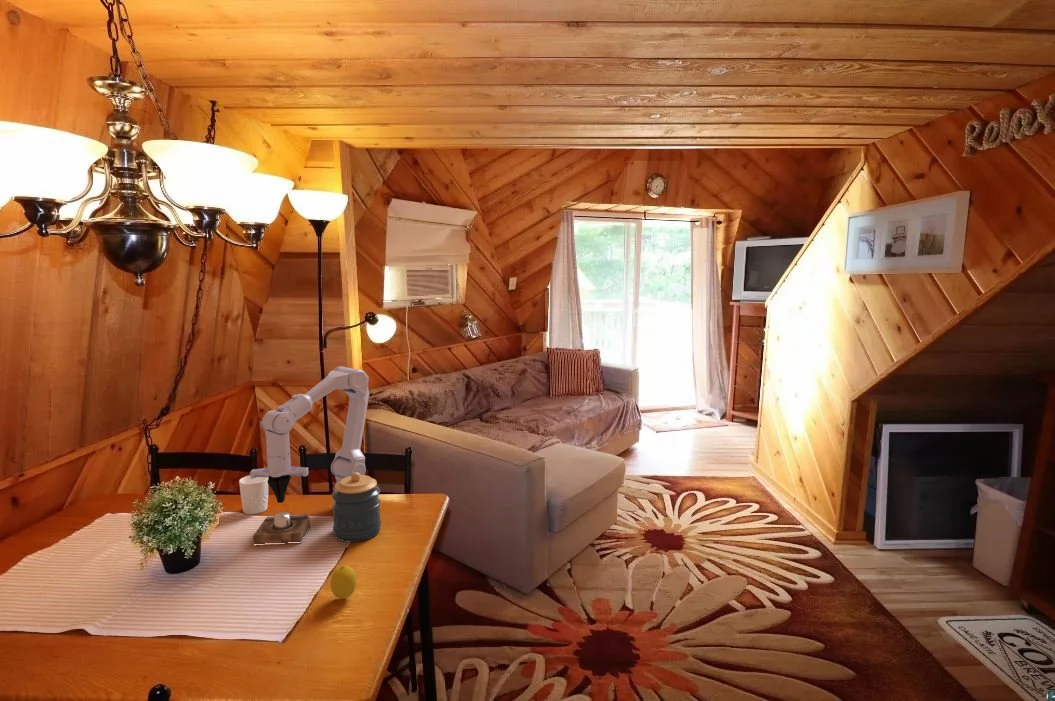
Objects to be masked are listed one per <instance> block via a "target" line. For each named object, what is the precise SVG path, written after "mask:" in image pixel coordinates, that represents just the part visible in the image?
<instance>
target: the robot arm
mask: <svg viewBox="0 0 1055 701" xmlns="http://www.w3.org/2000/svg"><path fill="white" fill-rule="evenodd" d="M369 380H370V377H369V375H368V374H367V373H366V372H365V371H364V370H363V369H359V368H357V369H356V368H353V367H352V368H351V367H346V366H341V365H339V366H336V367H335V368H334V369H333V370H331V371H329V372H328V374H327V376H326V377H324V378H323V379H322V380H321V381H319V383H317V384H316V385H314V386H313V387H312V388H311V389H309V390H308V391H307V392H306V393H305V394H303V393H298V394H295V393H294V394H293V395H292V396H291V398H290V399H288V400H287V401H286V402H284V403H283V404H280V405H278V406H277V408H276V409H273V410H268V411H267V412H266V413H265V414H264V415H263V417H262V420H261V421H260V427H261V428H262V429H263V430H264V432H265V441H266V442H265V443H266V460H267V467H264V468H263V467H262V468H255V469H254V468H253V469H251V471H250V472H249V475H250V478H251V479H253V478H255V477H268V481H267V482H268V486H269V487H270V488H271V490H272V492H273V494H274V496H275V498H276V499H275V500H276V501H277V503H278V504H283V503H284V502H285V500H286V493H287V489H288V486H289V483H290V481H291V480H292V477H299V476H300V477H307V476H308V475H309V467H308V466H307V467H305V466H304V467H303V466H293V465H291V463H292V462H291V446H290V444H291V443H290V431H291V430H293V427H294V424H295V423H296V422H297V421H298V420H299V419H301V418H302V417H304V416H305V415H306V414H308V413H309V412H311V411H312V409H313V404H315V403H316V402H317V401H319V400H321V399H322V398H324V397H325V396H327V395H328V394H331V393H332V392H333V391H334V390H342V391H344V392H345V393H346V395H347V396H348V398H349V403H348V408H347V414H346V421H345V426H344V432H343V439H342V445H341V447H340V449H339V450H338V451H336V452H335V456H334V459H333V461H332V462H331V464H330V472H331V474H332V475H334V477H335V478H334V479H335V480H336V483H335V484H337V483H338V482H339V481H341V480H342V479H343V478H345V477H348V476H351V475H352V474H353V473H354V472H358V473H360V475H366V470H367V469H366V463H365V462H366V457H365V455H364V454H363V452H362V451H361V447H362V441H363V435H364V429H365V424H366V422H365V421H366V417H367V416H366V415H367V410H368V406H369V405H368V404H369V397H370V390H369Z"/></svg>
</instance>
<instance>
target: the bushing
mask: <svg viewBox="0 0 1055 701" xmlns="http://www.w3.org/2000/svg"><path fill="white" fill-rule="evenodd" d="M290 516H291V514H290V512H288V511H281V512H278V513H276V514H274V523H275V530H284V529H288V528H290V527H291V525H290Z"/></svg>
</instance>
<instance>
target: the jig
mask: <svg viewBox="0 0 1055 701" xmlns="http://www.w3.org/2000/svg"><path fill="white" fill-rule="evenodd" d="M290 525H291V527H290V528H288V529H284V530H275V523H274V516H266V518H264V520H263V521H262V523H261V524H260V525H259V527H258V529H256V531H255V532H254V534H253V535H252V537H253V538H252V540H253V545H254V544H265V543H288V542H301V541H302V539H303V537H304V536H305V537H306V535H307V533H306V532H308V531H309V529H310V527H311V518H310V516H309V515H308V514H294V515H293V514H292V515H291V514H290ZM308 528H309V529H308ZM307 530H308V531H307ZM305 534H306V535H305ZM305 537H304V538H305ZM303 540H304V539H303ZM302 542H303V541H302ZM302 542H301V543H302Z"/></svg>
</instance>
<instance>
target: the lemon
mask: <svg viewBox="0 0 1055 701" xmlns="http://www.w3.org/2000/svg"><path fill="white" fill-rule="evenodd" d="M356 588H357V575H356V572H355V570H354V568H352V567H351V566H348V565H344V564H342V565H341V566H339V567H336V569H334V571H333V573H332V574H331V578H330V589H331V590H330V591H331V592H332V595H334V596H335V597H336V598H339V599H342V600H346V598H349V597H350V596H351V595H353V593H354V592H355V590H356Z"/></svg>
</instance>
